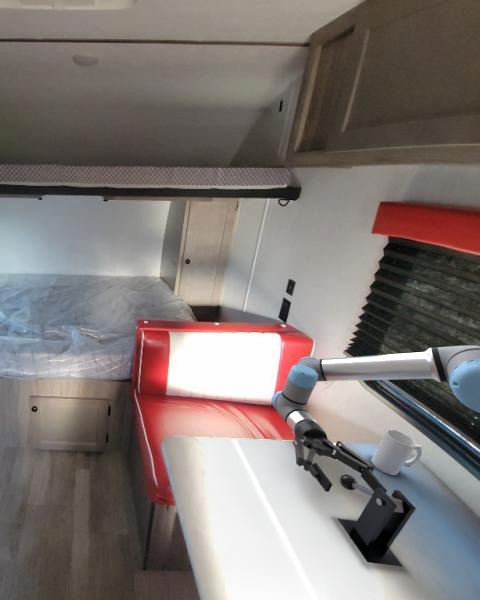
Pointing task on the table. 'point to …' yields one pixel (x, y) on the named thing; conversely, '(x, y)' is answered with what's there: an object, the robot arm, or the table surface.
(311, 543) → the table surface
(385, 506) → the bracket
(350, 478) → the lever
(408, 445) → the mug
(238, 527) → the table surface
